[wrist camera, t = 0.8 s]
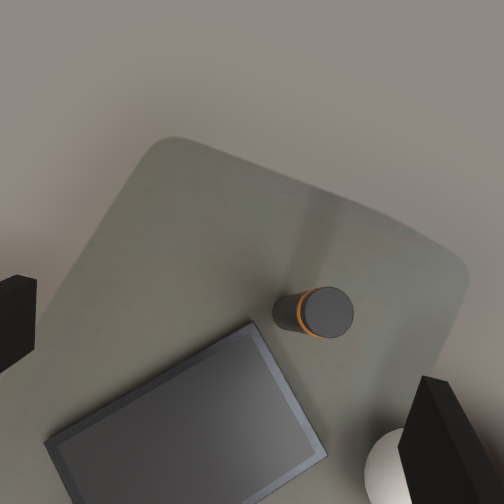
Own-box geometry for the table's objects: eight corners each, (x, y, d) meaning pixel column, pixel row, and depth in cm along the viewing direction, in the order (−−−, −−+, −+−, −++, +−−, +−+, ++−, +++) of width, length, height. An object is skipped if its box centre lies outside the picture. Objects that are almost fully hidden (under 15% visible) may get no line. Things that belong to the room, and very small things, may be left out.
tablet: (48, 438, 31) (42, 443, 30) (252, 320, 33) (253, 320, 32) (121, 586, 30) (117, 596, 29) (325, 451, 32) (329, 456, 31)
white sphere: (333, 483, 32) (368, 532, 25) (376, 399, 33) (422, 423, 26) (439, 549, 32) (505, 618, 25) (478, 463, 33) (551, 504, 26)
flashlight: (265, 306, 34) (293, 302, 22) (294, 289, 34) (337, 276, 22) (282, 337, 34) (320, 349, 22) (312, 319, 34) (364, 322, 22)
